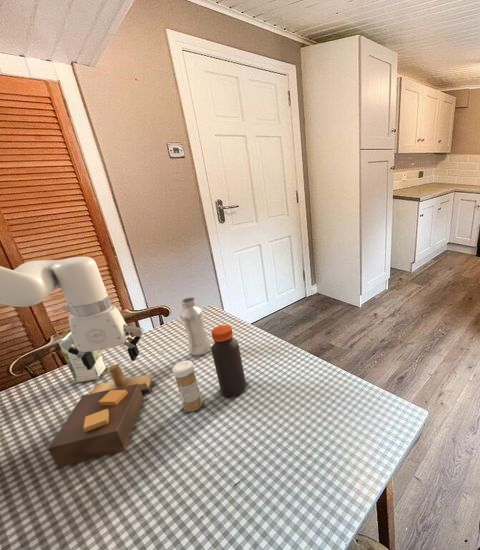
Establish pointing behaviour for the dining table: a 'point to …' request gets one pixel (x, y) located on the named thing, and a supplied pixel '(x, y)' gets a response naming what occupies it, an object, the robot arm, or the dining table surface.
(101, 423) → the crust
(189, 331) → the plastic bottle
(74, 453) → the brown box
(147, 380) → the brush
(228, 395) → the vinegar
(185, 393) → the sprinkles bottle
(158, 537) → the dining table surface
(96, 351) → the syrup box
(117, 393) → the crust
